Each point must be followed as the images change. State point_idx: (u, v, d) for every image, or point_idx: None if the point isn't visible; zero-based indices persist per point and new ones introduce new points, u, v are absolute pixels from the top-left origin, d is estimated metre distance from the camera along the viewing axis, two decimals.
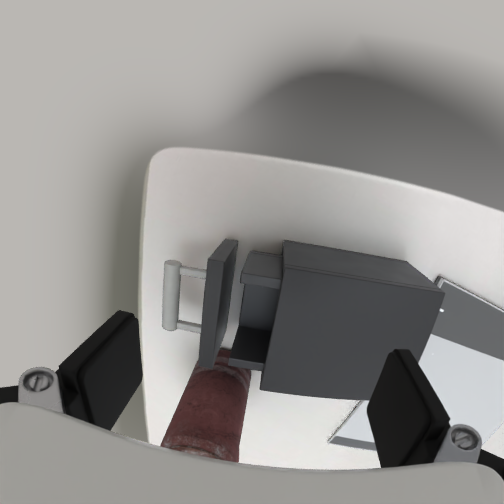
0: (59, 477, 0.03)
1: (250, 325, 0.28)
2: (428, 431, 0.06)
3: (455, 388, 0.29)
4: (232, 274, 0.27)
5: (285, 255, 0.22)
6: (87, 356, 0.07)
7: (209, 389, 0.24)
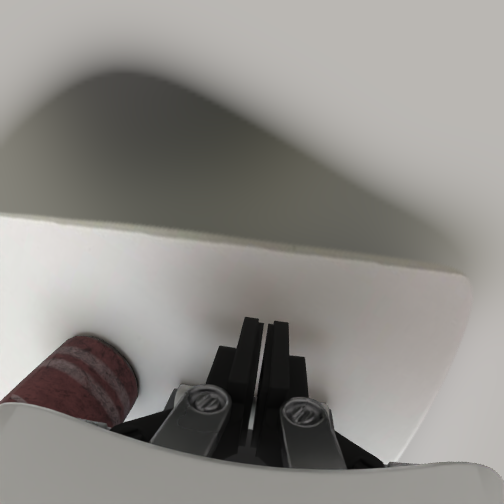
0: (59, 477, 0.03)
1: None
2: (267, 397, 0.07)
3: None
4: None
5: None
6: (250, 365, 0.08)
7: None
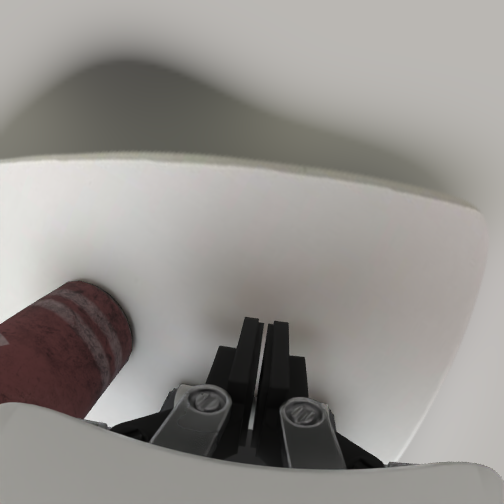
0: (59, 477, 0.03)
1: None
2: (267, 397, 0.07)
3: None
4: None
5: None
6: (250, 365, 0.08)
7: (68, 408, 0.09)
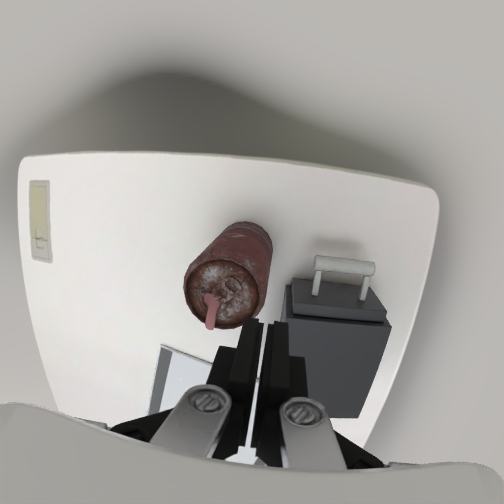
0: (59, 477, 0.03)
1: None
2: (267, 397, 0.07)
3: None
4: None
5: None
6: (250, 365, 0.08)
7: (269, 267, 0.27)
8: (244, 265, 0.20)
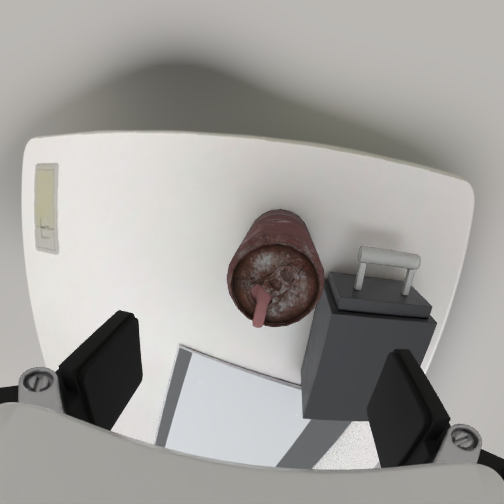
0: (59, 477, 0.03)
1: None
2: (428, 431, 0.06)
3: (252, 439, 0.38)
4: None
5: None
6: (87, 356, 0.07)
7: None
8: (304, 251, 0.17)
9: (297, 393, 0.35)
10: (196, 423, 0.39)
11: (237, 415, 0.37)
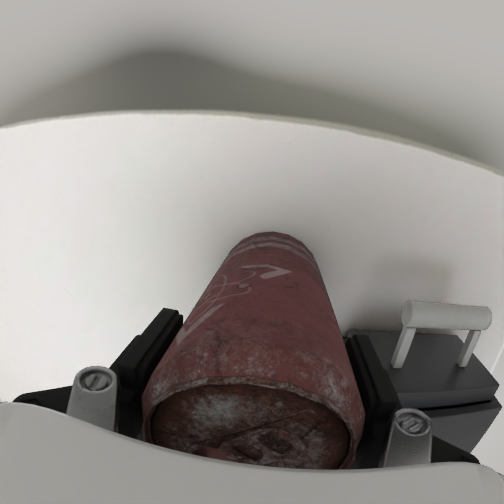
0: (59, 477, 0.03)
1: None
2: (375, 412, 0.07)
3: None
4: None
5: None
6: (144, 353, 0.08)
7: None
8: (325, 399, 0.06)
9: None
10: None
11: None
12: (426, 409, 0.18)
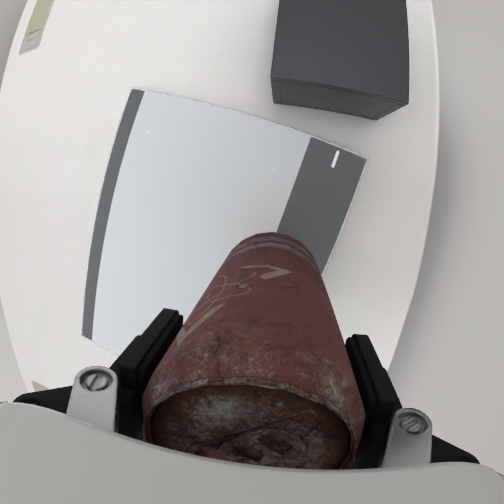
0: (59, 477, 0.03)
1: None
2: (375, 412, 0.07)
3: (212, 233, 0.30)
4: None
5: None
6: (145, 353, 0.08)
7: None
8: (326, 400, 0.06)
9: (271, 128, 0.27)
10: (138, 213, 0.30)
11: (190, 181, 0.29)
12: None
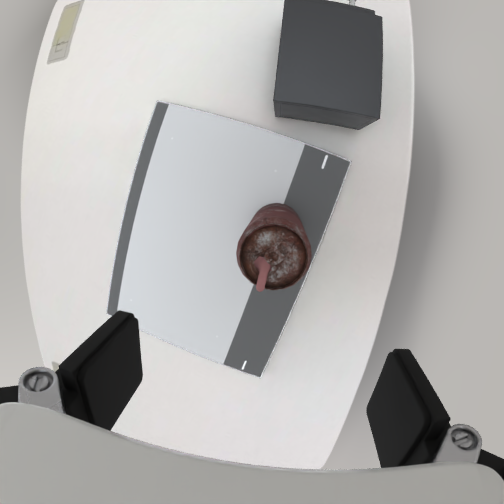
0: (59, 477, 0.03)
1: None
2: (428, 431, 0.06)
3: (225, 221, 0.37)
4: None
5: None
6: (87, 356, 0.07)
7: None
8: (295, 230, 0.23)
9: (273, 137, 0.34)
10: (163, 205, 0.37)
11: (208, 179, 0.36)
12: None
